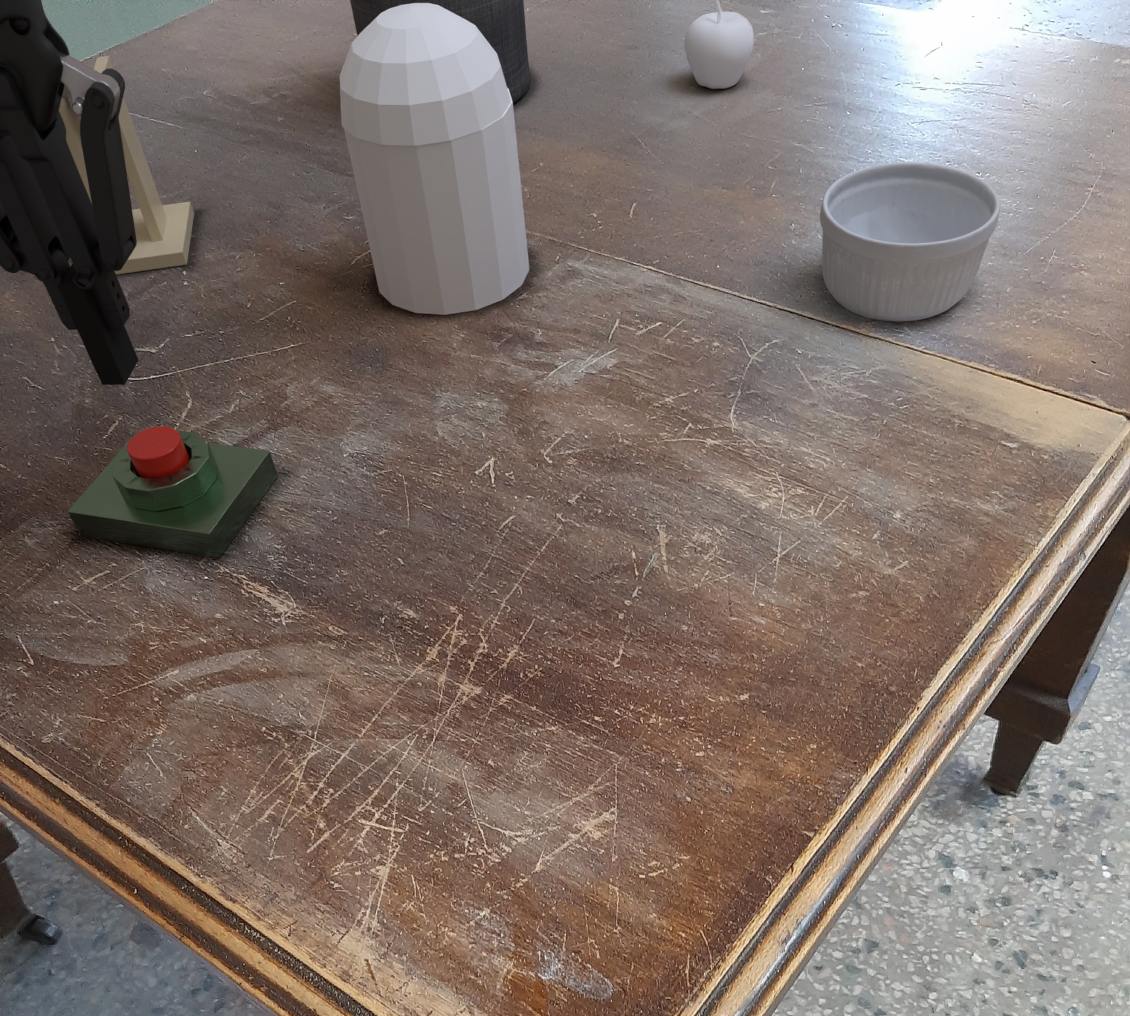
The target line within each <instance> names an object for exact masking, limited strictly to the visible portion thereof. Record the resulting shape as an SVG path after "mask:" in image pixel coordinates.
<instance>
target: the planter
mask: <svg viewBox="0 0 1130 1016" xmlns="http://www.w3.org/2000/svg"><path fill="white" fill-rule="evenodd" d="M524 1H525V0H349V2H350V7H351V11H352V17H353V22H354V28H355V31H356V37H357V36H358V35H359V34H360V33H361V32H362V31H363V30H364V29H365V28H366V27H367V26H368V25H369V24H370V23H371V22H372V21H373V20H374V19H375V18H376V17H377V16H378V15H379V14H380V13H382V12H384V11H386V10H388V9H390V8H393V7H396V6H400V5H405V4H412V3H430V4H436V5H439V6H441V7H443V8H445V9H447V10H449V11H450V12H452V13H454V14H456V15H458V16H460V17H462V18H464V19H465V20H467V21H469V22H471V23H472V24H474V25H475V26H476V27H477V28H478V30H479V31H480V32H481V33H482V35H483V36H484V37H485V39H486V40H487V41H488V43H489V44H490V45H491V47H492V48H493V49H494V50H495V52H496V53H497V55H498V58H499V62H500V65H501V68H502V72H503V75H504V79H505V82H506V86H507V88H508V89H509V92H510V95H511V98H512V101H513V104H514V103H516V102H517V101H519V100H520V99H521V98H522V97H523V96H524V95H525V94H526V93H527V92H528V90H529V88H530V86H531V81H532V80H531V71H530V70H531V69H530V63H529V54H528V53H529V51H528V40H527V28H526V16H525V4H524V3H525V2H524Z"/></svg>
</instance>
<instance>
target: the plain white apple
mask: <svg viewBox="0 0 1130 1016" xmlns="http://www.w3.org/2000/svg"><path fill="white" fill-rule="evenodd" d="M713 2H714V4H715V8H716V10H717V11H714V12H710V13H704V14H702V15H700V16H698V17H697V18H696V19H695V20H693V21H692V22H691V23H690V25H689V26H688V28H687V30H686V33H685V36H684V52H685V56H686V60H687V63H688V65H689V68H690V69H691V73H692V74H693V77H694V79H695V81H696V83H697V84H698V85H699V86H701V87H706V88H708V89H710V90H711V89H712V90H719V89H725V90H726V89H729V88H731V87H733V86H735V85H736V84H738V83H739V81H740V80H741V78H742V76H743V73H744V71H745V69H746V66H747V64H748V63H749V60H750V59H751V56H752V53H753V50H754V44H755V43H754V42H755V33H754V28H753V26H752V24H751V23H750V21H749V20H748V19H747V18H746V17H745V16H743V15H742V14H740V13H738V12H736V11H723V9H722V6H721V3H720V2H719V0H713Z"/></svg>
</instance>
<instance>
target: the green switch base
mask: <svg viewBox="0 0 1130 1016" xmlns="http://www.w3.org/2000/svg"><path fill="white" fill-rule="evenodd" d="M176 430H177V431H178V432H179V434H180V436H181V438H182V441H183V443H184V445H185V448H186V450H187V453H188V455H189V461H188V463H187V464H186V466H185V467H184V468H183V469H181V470H179V471H177V472H175V473H173V474H172V475H170V476H166V477H161V478H156V479H148V478H143V477H141V476H140V475H139V474H138V473H137V471H136V469H135V467H134V465H133V463H132V461H131V459H130V456H129V454H128V452H127V445H128V442H129V441H130V439H131V438H132V437H133V436H135V435H136V434H138V433H139V432H135V433H134V434H133V435H132V436H131V437H130V438H129V439H128V441H127V442H126V443H125V444H124V445H123V446H122V447H121V448H120V449H119V451H118V452H117V453H116V455H115V456H113V458H112V459H111V460H110V461H109V463H108V464H107V465H106V466H105V467H104V468H103V469H102V471H101V472H99V474H98V475H97V476H96V478H95V479H94V480H93V481H92V482H91V483H90V484H89V486H88V487H87V488H86V489H85V491H83V492H82V494H81V495H80V496H79V497H78V499H77V500H76V501H75V502H74V503H73V504H72V505H71V507H69V509H68V510H67V513H68V515H69V517H70V519H71V520H72V523H73V524H74V526H75V528H76V530H77V532H78V533H79V535H80V537H84V538H89V539H90V538H91V539H97V540H104V541H108V542H109V541H110V542H116V543H123V544H128V545H134V546H141V547H147V548H153V549H159V550H165V551H172V552H177V553H184V554H188V555H189V554H190V555H196V556H203V557H207V558H208V557H209V558H215V559H221V558H222V557H223V555H224V554H225V552H226V550H227V549H228V548H229V546H230V545H231V543H232V542H233V540H235V538H236V536H237V535H238V533H239V532H240V531H241V529H242V528H243V527H244V526H245V524H246V522H247V521H248V519H249V518H250V517H251V515H252V514H253V512H254V511H255V510H256V508H257V507H258V505H259V504H260V502H261V501H262V500H263V498H264V497H265V496H266V494H267V493H268V491H269V490H270V488H271V487H272V486H273V484H274V483H275V482H276V480H277V479H278V477H279V474H278V471H277V469H276V468H277V467H276V466H275V463H274V459H273V457H272V454H271V451H270V450H266V449H265V450H264V449H258V448H250V447H243V446H236V445H227V444H221V443H215V442H214V443H213V442H208V441H207V440H206V439H204V438H203V437H201V436H200V435H199V434H198V433H197V432H194V431H186V430H179V429H176Z"/></svg>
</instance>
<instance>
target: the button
mask: <svg viewBox="0 0 1130 1016" xmlns="http://www.w3.org/2000/svg"><path fill="white" fill-rule="evenodd" d="M177 430H178V429H176V428H173V427H171V426H165V425H164V426H163V425H162V426H161V425H160V426H152V427H149V428H145V429H143V430H141V431H139V432H137V433H138V434H136V435H135V436H133V435H132V436H133V437H132V436H131V437H132V438H131V437H130V438H131V439H130V438H129V440H130V441H129V440H128V441H129V442H128V441H127V442H128V445H127V452H128V454H129V456H130V459H131V461H132V463H133V465H134V467H135V469H136V471H137V473H138V474H139V475H140V476H141V477H143V478H148V479H156V478H161V477H166V476H170V475H172V474H173V473H175V472H177V471H179V470H181V469H183V468H184V467H185V466H186V464H187V463H188V461H189V455H188V453H187V450H186V448H185V445H184V443H183V441H182V438H181V436H180V434H179V432H178V431H177Z"/></svg>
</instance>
